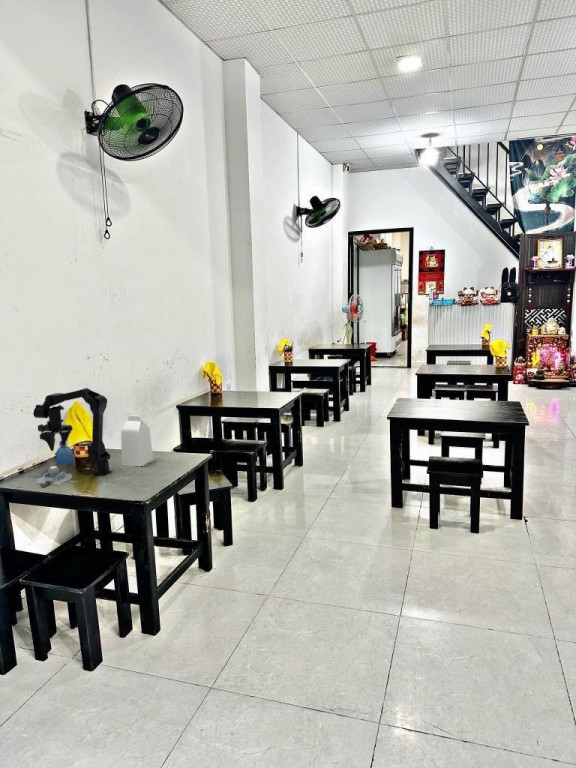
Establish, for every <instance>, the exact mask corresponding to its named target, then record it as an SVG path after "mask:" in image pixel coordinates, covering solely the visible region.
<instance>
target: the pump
mask: <svg viewBox="0 0 576 768" xmlns="http://www.w3.org/2000/svg"><path fill="white" fill-rule="evenodd" d="M59 470H60V469H59V467H58V465H57V466H56V465H52V466H50V467H49V468H48V472H49V477H50V478H55V475H57V474H59V473H60V471H59Z"/></svg>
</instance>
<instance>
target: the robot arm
mask: <svg viewBox="0 0 576 768" xmlns="http://www.w3.org/2000/svg"><path fill="white" fill-rule="evenodd" d="M81 398H82V399H83V400H84V402H85V403H86V404H88V405H89V409H90V411H91V414H92V433H91V435H92V436H91V439H92V440H91V443H90V444H87V452H86V453H87V455H88V458H89V459H90V462H91V463H92V464H93V472H94V473H92V475H94V476H106V475H108V474H109V473H111V472H112V471H111V470H110V465H109V462H110V461H109V460H110V459H111V454H110V453H109V452H108V451H107V450H106V445H105V443H104V442H103V441H104V440H103V433H104V431H103V429H104V413H105V411H106V409H107V405H108V399H107V398H106V396H105V395H102V394H100V393H99V392H96V391H93V390H91V389H90V388H88V387H85V388H82V389H78V390H74V391H69V392H65V393H63V392H55V393H52V394H48V395H46V396H45V398H44V401H43V403H42V404H35V407H34V409H33V413H32V415H33V417H34V418H36V419H48V421H47V422H46V424H39V425H37V431H38V432H40V434H39V439H40V440H41V441H45V442H46V444H47V446H48V447H49V450H50V451H51V452H53V451H54V450H55V445H56V444H55V443H56V438H55V437H56V435H57V434H58V435H59V436H60V439H61V440H60V441H62V445H63V446H65V444H66V445H67V441H68V439H69V437H70V434H71V433H72V431H73V426H72V425H71V424H62V423H63V422H64V419H62V413H61V411H62V410H63V411H64V410H65V407H64V406H62V405H61V404H62V403H65V402H67V401H72V400H75V399H81Z"/></svg>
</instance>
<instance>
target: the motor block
mask: <svg viewBox="0 0 576 768" xmlns="http://www.w3.org/2000/svg"><path fill="white" fill-rule="evenodd" d="M72 479H73V475H72V474H71V473H66V472H65V471H61V472H59V474H57V475H55V478H50V477H49V471H48V472H46V473H44V474H43V476H42V477H40V478H38V479H36V484H37V485H39V486H40V488H43V489H44V488H45V487H46V486H49V485H51V486H61V485H62V484H64V483H66V482H68V481H69V480H72Z"/></svg>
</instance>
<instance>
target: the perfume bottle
mask: <svg viewBox="0 0 576 768" xmlns="http://www.w3.org/2000/svg"><path fill="white" fill-rule="evenodd" d="M58 445H59V447H58V448H57V450H56V452H55V461H56V465H57V466H60V465H61V466H62V465H63V466H64V465H65V466H67V465H69V464H71V463H72V462H73V452H72V451H73V450H72V449H71V448H70V447H69V446H68V445H67V443H66V444H65V446H63V445H62V441H61V440H60V441H59V444H58Z"/></svg>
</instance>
